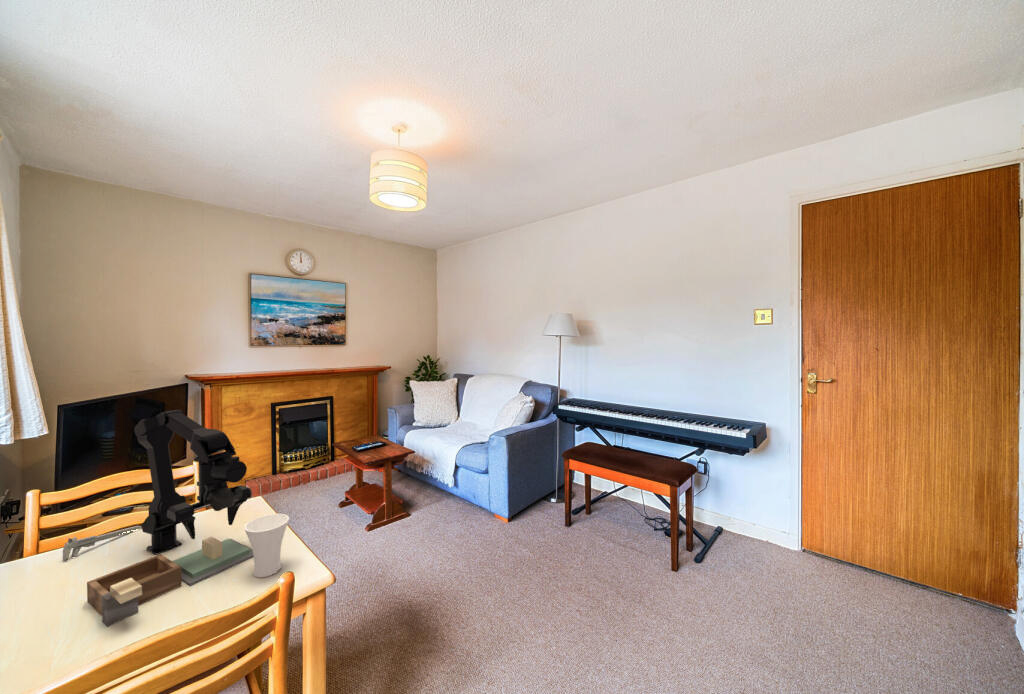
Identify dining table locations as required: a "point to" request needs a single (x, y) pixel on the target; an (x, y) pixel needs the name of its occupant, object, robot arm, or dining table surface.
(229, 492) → the robot arm
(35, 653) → the dining table surface
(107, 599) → the toolbox
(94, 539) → the caliper
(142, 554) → the dining table surface
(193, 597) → the dining table surface
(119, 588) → the wooden block
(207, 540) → the lid
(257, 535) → the cup
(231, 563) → the mat
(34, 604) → the dining table surface
